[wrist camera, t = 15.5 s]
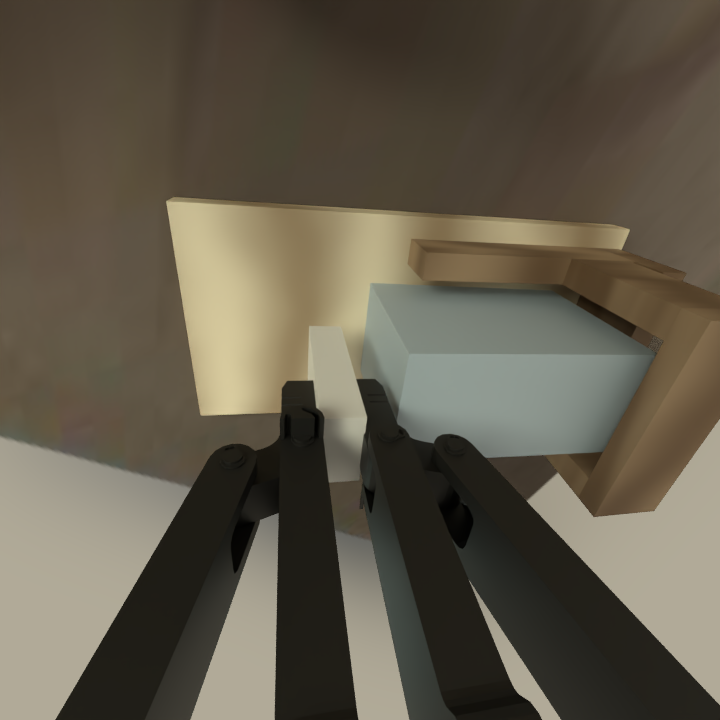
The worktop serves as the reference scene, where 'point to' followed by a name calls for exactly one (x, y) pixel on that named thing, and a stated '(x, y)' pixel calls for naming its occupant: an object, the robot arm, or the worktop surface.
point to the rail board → (442, 268)
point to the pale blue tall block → (500, 367)
